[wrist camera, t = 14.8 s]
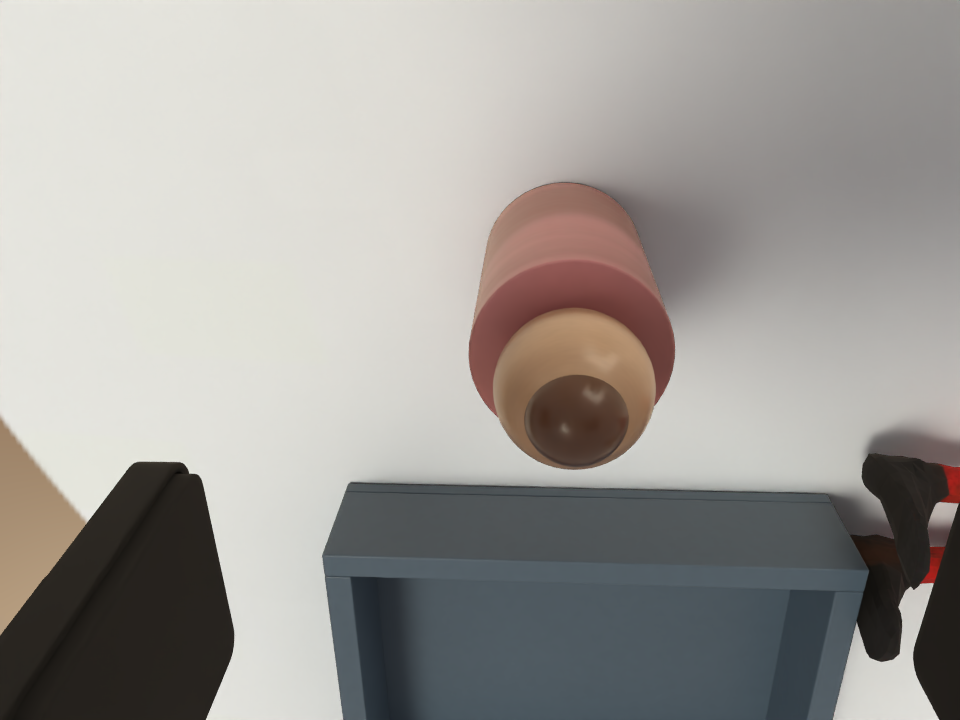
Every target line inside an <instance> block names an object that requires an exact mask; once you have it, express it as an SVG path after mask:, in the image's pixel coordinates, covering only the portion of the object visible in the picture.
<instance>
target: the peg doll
mask: <svg viewBox="0 0 960 720" xmlns="http://www.w3.org/2000/svg"><path fill="white" fill-rule="evenodd" d="M674 359H675V342H674V334H673V330H672V326H671V323H670V320H669V317H668V314H667V312H666V309H665V306H664V303H663V301H662V298H661V295H660V293H659V290H658V287H657V285H656V282H655V279H654V276H653V274H652V271H651V268H650V266H649V263H648V260H647V258H646V255H645V252H644V249H643V247H642V244H641V241H640V239H639V236H638V233H637V231H636V228H635V226H634V224H633V222H632V220H631V218H630V217H629V215H628V214H627V212H626V211H625V210H624V209H623V208H622V206H621V205H619V204H618V203H617V202H616V201H615V200H614V199H613V198H611V197H610V196H608V195H607V194H605V193H603V192H601V191H599V190H597V189H595V188H592V187H589V186H586V185H582V184H577V183H553V184H548V185H544V186H541V187H538V188H535V189H532V190H530V191H528V192H526V193H524V194H523V195H521V196H520V197H518V198H517V199H515V200H514V201H513V202H512V203H511V204H509V205H508V206H507V207H506V209H505V210H504V211H503V212H502V213H501V214H500V216H499V217H498V219H497V220H496V222H495V224H494V226H493V228H492V230H491V232H490V235H489V238H488V242H487V247H486V253H485V258H484V264H483V269H482V275H481V280H480V286H479V291H478V297H477V302H476V308H475V313H474V319H473V325H472V330H471V336H470V341H469V365H470V370H471V374H472V379H473V381H474V384H475V386H476V389H477V391H478V392H479V394H480V396H481V398H482V399H483V401H484V402H485V404H486V405H487V406H488V407H489V409H490V410H491V411H492V412H493V413H494V414H495V415H496V416H497V417H498V418H499V420H500V423H501V425H502V426H503V428H504V430H505V432H506V433H507V435H508V436H509V437H510V439H511V440H512V441H513V442H514V443H515V444H516V445H517V446H518V447H519V448H520V449H521V450H522V451H523V452H525V453H526V454H527V455H529V456H530V457H532V458H533V459H535V460H537V461H539V462H541V463H543V464H546V465H549V466H552V467H556V468H561V469H571V470H576V469H588V468H593V467H597V466H601V465H603V464H606V463H608V462H610V461H612V460H614V459H616V458H618V457H619V456H621V455H622V454H624V453H625V452H626V451H627V450H628V449H629V448H631V447H632V446H633V445H634V443H635V442H636V441H637V440H638V439H639V438H640V436H641V435H642V433H643V432H644V430H645V428H646V426H647V424H648V422H649V420H650V418H651V415H652V412H653V409H654V406H655V404H656V403H657V402H658V400H659V399H660V397H661V396H662V394H663V393H664V391H665V389H666V387H667V384H668V382H669V380H670V377H671V374H672V371H673V365H674Z"/></svg>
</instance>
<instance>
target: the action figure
mask: <svg viewBox="0 0 960 720" xmlns="http://www.w3.org/2000/svg"><path fill="white" fill-rule="evenodd" d="M862 480H863V483H864V485H865V486H866V488H867V489H868V490H869V491H870V492H871V493H872V494H874V495H875V496H876V497H877V498H878V499H880V501H881V503H882V506H883V508H884V511H885V513H886V516H887V518H888V521H889V524H890V526H891V529H892V532H893V535H894V539H891V538H888V537H884V536H880V535H870V536H856V535H850V537H851V539H852V540H853V542H854V544H855V546H856V548H857V550H858V551H859V553H860V555H861V557H862V559H863V561H864V562H865V564H866V566H867V568H868V570H869V573H868V577H867V581H866V585H865V590H864V591H863V597H862V601H861V605H860V609H859V613H858V617H857V624H858V627H859V631H860V634H861V637H862V640H863V643H864V646H865V650H866V653H867V654H868V655H869V657H870V658H872V659H874V660H877V661H880V662H884V661H889V660H893V659H894V658H895V657H896V656H897V655H899V653H900V643H901V633H902V618H901V613H900V611H899V608H898V606H899V604H900V601H901V599H902V597H903V595H904V593H905V591H906V590H907V589H908V588H909V587H912V588H913V590H915V589H916V588H917V587H918V586H919V585H920V584H922V583H934V582H935V579H936V576H937V572H938V569H939V566H940V563H941V559H942V556H943V553H944V550H945V547H930V544H929V536H928V529H927V528H928V522H929V519H930V516H931V513H932V511H933V509H934V506H935V504H936V503H938V502H947V503H959V501H960V467H951V466H946V465H942V464H938V463H926V462H924V461H922V460H920V459H917V458H907V457H903V456H888V455H882V454H877V453H874V454H869V455H868V457H867V458H866V460H865V462H864V463H863V468H862Z"/></svg>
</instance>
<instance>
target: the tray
mask: <svg viewBox="0 0 960 720" xmlns="http://www.w3.org/2000/svg"><path fill="white" fill-rule="evenodd" d="M322 558H323V565H324V573H325V582H326V589H327V597H328V605H329V613H330V620H331V628H332V636H333V644H334V651H335V659H336V667H337V675H338V682H339V690H340V698H341V706H342V713H343V720H833V716H834V712H835V707H836V703H837V699H838V695H839V691H840V687H841V683H842V679H843V675H844V671H845V666H846V662H847V658H848V654H849V650H850V646H851V642H852V638H853V634H854V630H855V626H856V621H857V617H858V613H859V609H860V605H861V601H862V597H863V591H864V590H865V585H866V581H867V577H868V573H869V570H868V568H867V566H866V564H865V562H864V561H863V559H862V557H861V555H860V553H859V551H858V550H857V548H856V546H855V544H854V542H853V540H852V539H851V537H850V535H849V533H848V531H847V529H846V528H845V526H844V524H843V522H842V520H841V518H840V517H839V515H838V513H837V511H836V509H835V507H834V506H833V504H832V502H831V500H830V498H829V496H828V495H827V494H794V493H749V492H704V491H660V490H615V489H570V488H526V487H481V486H436V485H392V484H348V486H347V489H346V492H345V494H344V497H343V500H342V503H341V505H340V508H339V511H338V514H337V516H336V519H335V522H334V525H333V527H332V530H331V533H330V536H329V538H328V541H327V544H326V546H325V549H324V552H323V555H322Z"/></svg>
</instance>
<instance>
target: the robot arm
mask: <svg viewBox="0 0 960 720" xmlns="http://www.w3.org/2000/svg"><path fill="white" fill-rule="evenodd" d="M233 647H234V628H233V623H232V618H231V614H230V609H229V604H228V600H227V595H226V590H225V586H224V581H223V576H222V572H221V567H220V562H219V557H218V553H217V548H216V543H215V539H214V534H213V529H212V525H211V520H210V515H209V511H208V506H207V501H206V497H205V492H204V487H203V483H202V480H201V478H200V477H199V475H197V474H189V471H188V469H187V467H186V466H185V465H184V464H183V463H181V462H136V463H134V464H133V465H131V466H130V467H129V469H128V470H127V471H126V473H125V474H124V475H123V476H122V478H121V479H120V480H119V482H118V483H117V484H116V486H115V487H114V488H113V490H112V491H111V492H110V494H109V495H108V496H107V498H106V499H105V500H104V501H103V503H102V504H101V505H100V507H99V508H98V509H97V511H96V512H95V513H94V515H93V516H92V517H91V519H90V520H89V521H88V523H87V524H86V525H85V527H84V528H83V529H82V530H81V532H80V533H79V534H78V536H77V537H76V538H75V540H74V541H73V543H72V544H71V545H70V546H69V548H68V549H67V550H66V552H65V553H64V554H63V556H62V557H61V558H60V559H59V561H58V562H57V563H56V565H55V566H54V567H53V569H52V570H51V571H50V573H49V574H48V575H47V576H46V577H45V578H44V579H43V580H42V582H41V583H40V584H39V586H38V587H37V588H36V589H35V591H34V592H33V593H32V595H31V596H30V597H29V599H28V600H27V601H26V603H25V604H24V605H23V607H22V608H21V609H20V611H19V612H18V613H17V615H16V616H15V617H14V618H13V620H12V621H11V622H10V624H9V625H8V626H7V628H6V629H5V630H4V631H3V633H2V634H1V635H0V720H206V718H207V715H208V713H209V711H210V708H211V706H212V703H213V701H214V699H215V696H216V694H217V691H218V689H219V687H220V684H221V682H222V679H223V677H224V674H225V672H226V670H227V667H228V665H229V662H230V660H231V657H232V653H233ZM913 660H914V668H915V671H916V675H917V678H918V680H919V682H920V684H921V686H922V688H923V690H924V692H925V693H926V695H927V697H928V699H929V701H930V703H931V705H932V707H933V709H934V711H935V712H936V714H937V716H938V718H939V720H960V501H959V505H958V508H957V511H956V514H955V518H954V521H953V524H952V527H951V530H950V534H949V537H948V540H947V543H946V547H945V550H944V553H943V556H942V559H941V563H940V566H939V569H938V572H937V576H936V579H935V582H934V585H933V588H932V592H931V595H930V598H929V601H928V605H927V608H926V611H925V614H924V617H923V621H922V624H921V627H920V630H919V634H918V637H917V640H916V643H915V647H914V652H913Z"/></svg>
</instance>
